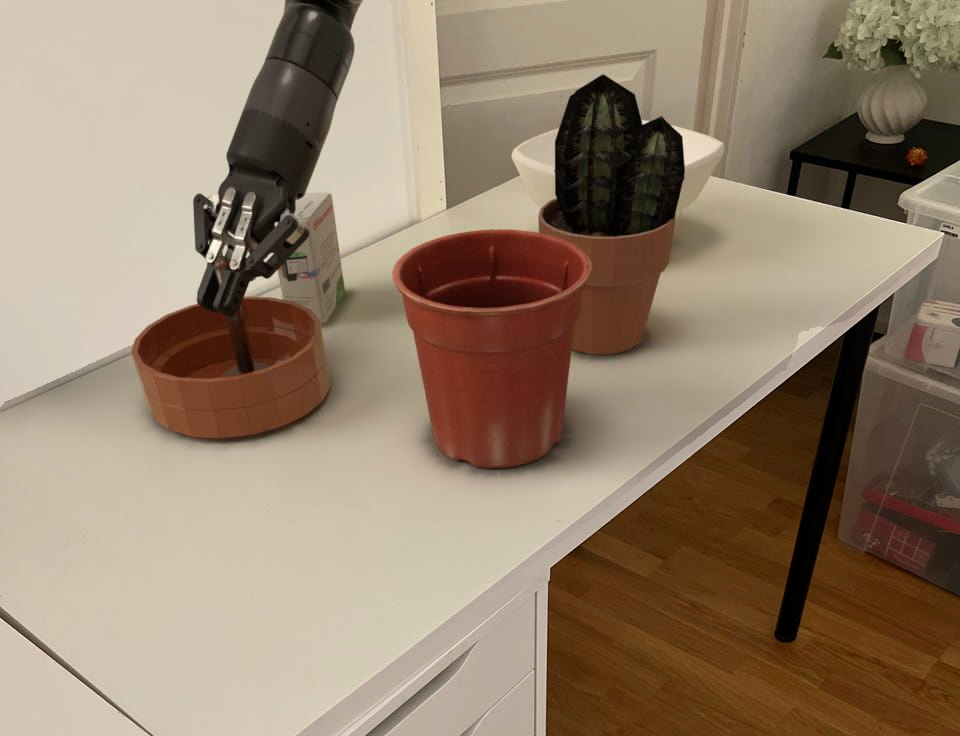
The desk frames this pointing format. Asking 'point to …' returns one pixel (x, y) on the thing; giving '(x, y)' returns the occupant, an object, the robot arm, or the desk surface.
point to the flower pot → (494, 339)
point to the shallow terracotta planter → (209, 354)
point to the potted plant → (614, 209)
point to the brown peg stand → (237, 333)
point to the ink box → (315, 259)
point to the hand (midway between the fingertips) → (214, 310)
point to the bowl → (698, 148)
